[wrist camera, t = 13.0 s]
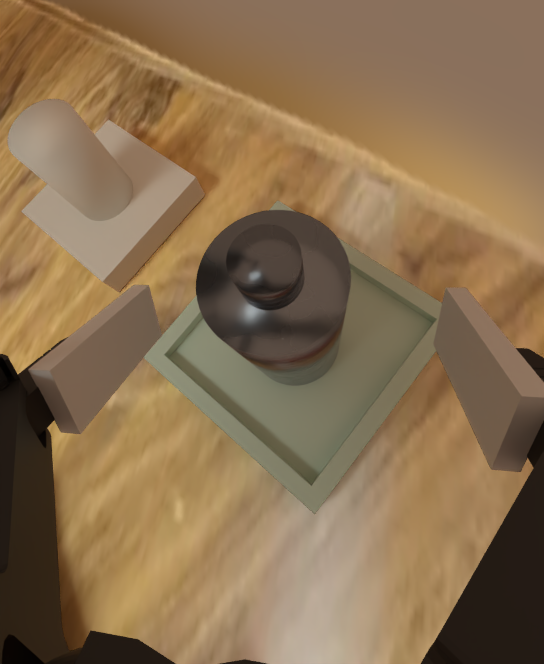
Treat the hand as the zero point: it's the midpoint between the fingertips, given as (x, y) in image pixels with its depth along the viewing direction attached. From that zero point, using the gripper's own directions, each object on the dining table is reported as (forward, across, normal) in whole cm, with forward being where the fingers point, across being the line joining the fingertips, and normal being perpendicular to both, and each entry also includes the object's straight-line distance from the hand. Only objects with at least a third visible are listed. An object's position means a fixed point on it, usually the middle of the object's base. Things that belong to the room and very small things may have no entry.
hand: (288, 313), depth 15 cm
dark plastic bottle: (+5, 0, -4) cm, 7 cm away
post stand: (+13, -15, +2) cm, 20 cm away
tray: (+5, 0, -5) cm, 7 cm away
